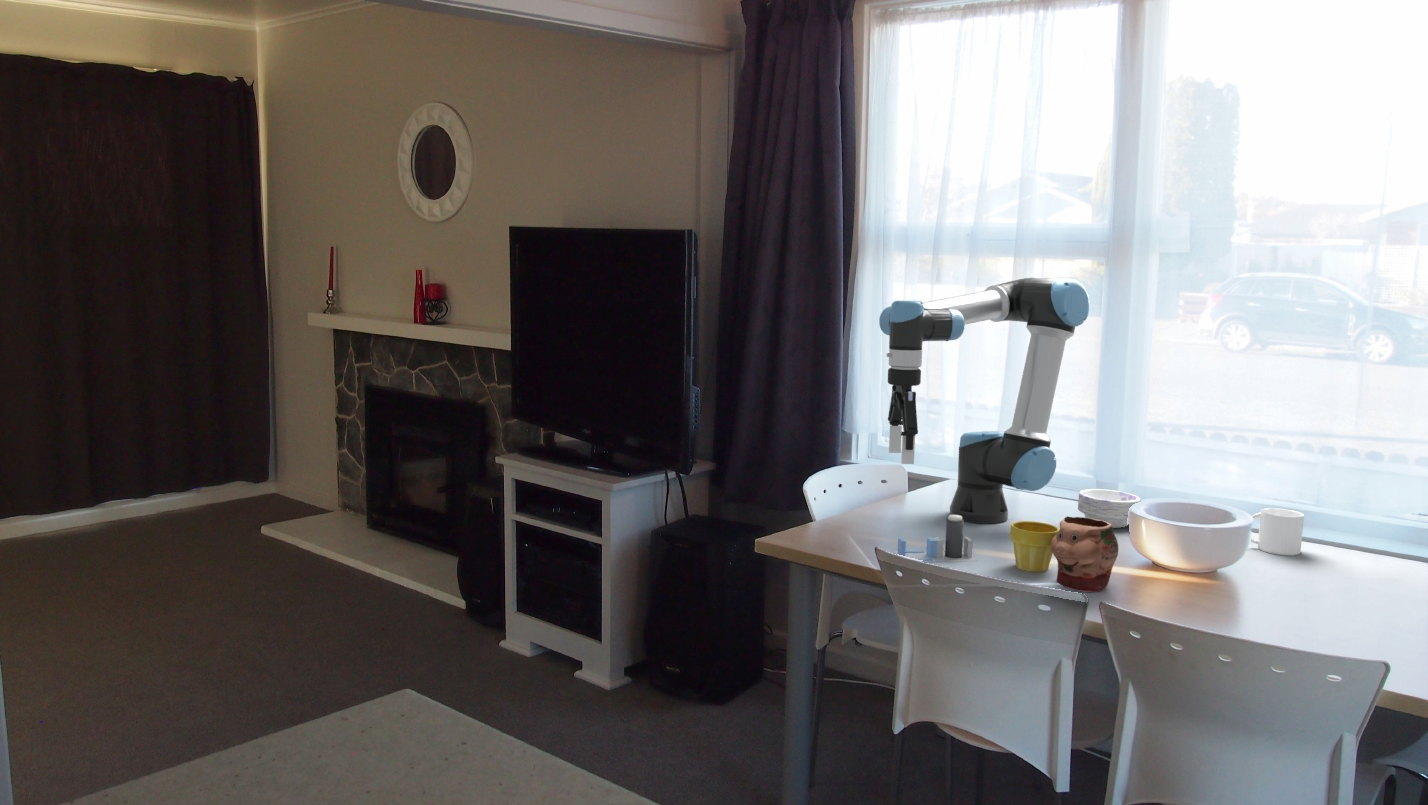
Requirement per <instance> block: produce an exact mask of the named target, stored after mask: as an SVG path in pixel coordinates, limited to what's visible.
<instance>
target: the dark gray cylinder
mask: <svg viewBox="0 0 1428 805" xmlns="http://www.w3.org/2000/svg"><path fill="white" fill-rule="evenodd" d="M964 522H965V521H964V520H963V519H962V516H960V515H950V514H949V515H948V518H946V526H945V528H946V529H945V541H944V544H945V545H944V546H945V548H944V551H945V556H946V557H948V558H961V557H962V551H963V544H964V537H963V536H964Z"/></svg>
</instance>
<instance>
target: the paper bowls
mask: <svg viewBox="0 0 1428 805" xmlns="http://www.w3.org/2000/svg"><path fill="white" fill-rule="evenodd" d="M1077 500H1078V501H1077V510H1078V512H1080V513H1082V514H1084V518H1092V519H1096V520H1101V521H1105V522H1108V523H1110V524H1111V525H1112V527H1113V529H1121V527H1123V528H1126V527H1127V518H1128V511H1129V508H1130V507H1131V506H1132V505H1133V504H1135V503H1138V502H1141V501H1142V500H1141V498H1140V497H1139V496H1138V495H1135V494H1134V493H1133V494H1132V493H1129V492H1125V491H1120V490H1113V489H1104V488H1103V489H1102V488H1090V489H1089V488H1087V489H1083V490H1080V491H1079V492H1078V499H1077ZM1125 526H1126V527H1125Z"/></svg>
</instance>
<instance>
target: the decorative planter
mask: <svg viewBox="0 0 1428 805" xmlns="http://www.w3.org/2000/svg"><path fill="white" fill-rule="evenodd" d="M1051 550H1052V553H1053V554H1052V556H1054V557H1055V559H1056V561H1057V575H1056V582H1057V584H1058V585H1060V586H1062V587H1065V588H1068V589H1069V590H1070V589H1071V590H1074V591H1080V592H1086V593H1097V592H1101V591H1104V590H1105V589H1106V588H1107V586H1109V585H1108V584H1109V582H1110V579H1111V575H1112V570H1113V567H1114V565H1115V562H1116V561H1117V558H1118V554H1119V542H1118V539H1117V537H1116V534H1115V532H1114V528H1113V527H1112V525H1111V524H1110V523H1108V522H1105V521H1101V520H1096V519H1092V518H1086V517H1081V516H1066V517H1064V518H1063V519H1062V520H1060V521H1059V532H1058V534H1057V535H1056V536H1055V537H1054V538H1053V539H1052V541H1051Z"/></svg>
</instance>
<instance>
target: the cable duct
mask: <svg viewBox="0 0 1428 805" xmlns="http://www.w3.org/2000/svg"><path fill="white" fill-rule="evenodd" d="M973 543H974V542H973V539H971V537H970V536H969V537H968V536H966V537H965V536H964V537H963V550H962V557H961V558H948V557H946V556H945V550H944V546H945V545H944V544H945V541H944V540H943V539H942V538H941V537H937V536H936V537H933V536H932V537H926V549H925V550H926V551H924V550H907V548H906V547H907V545H906V544H907V540H905V538H904V537H898V538H897V551H893V553H894V554H895V553H897V554H899V555H903V556H906V557H910V558H915V559H918V560H923V561H928V562H932V563H933V562H977V560H976V559H975V558H974V557H973Z"/></svg>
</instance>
